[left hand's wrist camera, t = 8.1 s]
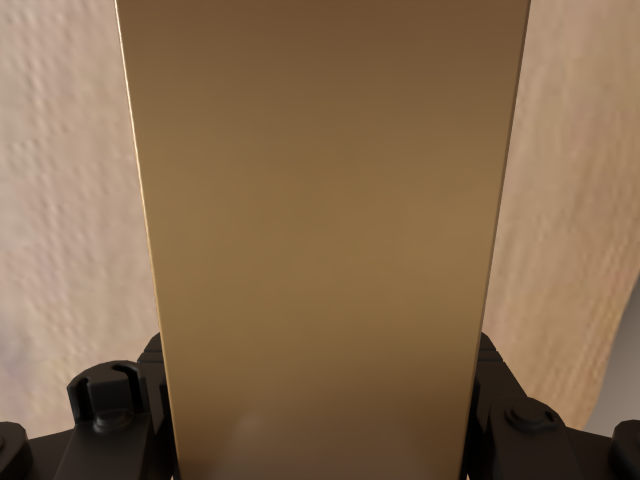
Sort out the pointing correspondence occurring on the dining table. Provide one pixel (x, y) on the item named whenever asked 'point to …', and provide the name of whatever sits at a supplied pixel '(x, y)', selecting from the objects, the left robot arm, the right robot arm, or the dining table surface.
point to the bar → (321, 224)
